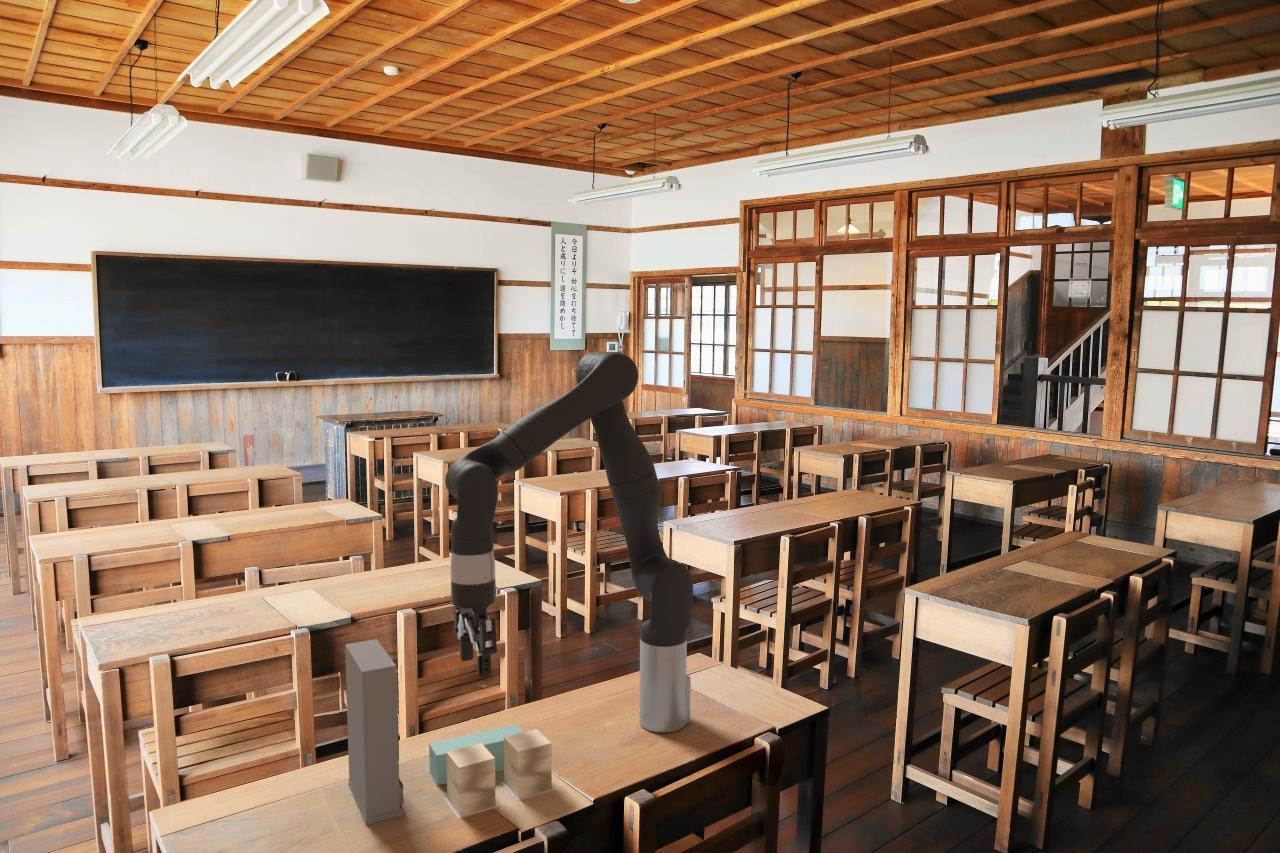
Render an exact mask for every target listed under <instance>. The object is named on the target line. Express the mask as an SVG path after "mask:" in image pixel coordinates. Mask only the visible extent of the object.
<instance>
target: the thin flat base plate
mask: <svg viewBox="0 0 1280 853" xmlns="http://www.w3.org/2000/svg"><path fill="white" fill-rule="evenodd" d="M500 783H501V785H502V786H503V787H504V788H505V789H506V791H508V793H509V794H510V795H511V796H512V797H513V799H514V800H515V801H516V802H520V801H522V800H525V799H530V798H532V797H536V796H539V795H542V794H546V793H549V792H552V791H556V790H557V789H556V788H555V787H554V786H553V785H552V789H549V790H546V791H543V792H539V793H536V794H533V795H529V796H526V797H523V798H519V799H518V797H517V796H516V795H515V794H514V793H513V792H512V791H511V789H510V788H509V787H508V786H507V785H506V784H505V780H503V781H500ZM443 800H444V801H445V803H446V805H447V806H448V807H449V808H450V810H451V811H452V813H453V815H454V816H455V818H457V820H459V819H462V818H467V817H469V816H472V815H476V814H479V813H482V812H486V811H490V810H493V809H496V808H499V807H500V804H498V802H497V801H496V806H492V807H489V808H486V809H482V810H479V811H476V812H472V813H469V814H466V815H462V816H459V814H458V813H457V812H456V810H455V809H454V807H453V806H452V805H451V803H450V802H449V800H448V799H447V796H446V797H443Z"/></svg>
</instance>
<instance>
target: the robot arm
mask: <svg viewBox="0 0 1280 853" xmlns="http://www.w3.org/2000/svg"><path fill="white" fill-rule="evenodd" d="M575 380H576V381H575V382H576V386H574V387H573V388H572V389H570V390H569V391H567V392H566V393H564V394H563V395H561V396H560V397H558V398H556V399H554V400H552V401H550V402H549V403H546V404H545V405H542V406H541V407H538V408H537V409H534V410H533V411H531V412H529V413H527V414H525V415H524V416H523V417H521V418H519V419H518V420H517V421H515V422H513V424H511V425H510V426H508V427H507V428H506V429H504V430H503V431H502V432H501V433H499V434H498V435H497V436H496V437H495V438H493V439H492V440H490V441H489V442H486V443H484V444H483V445H480V446H478V447H477V448H475V449H473V450H471V451H469V452H468V453H467V454H464V455H463V456H461V457H460V458H458V459H457V460H456V461H455V462H453V464H452V465H450V467H449V468H448V470H447V472H446V474H445V477H444V478H445V479H444V483H445V488H446V490H447V491H448V493H449V494H450V495H451V496H452V497H454V498H456V499H457V509H456V510H457V513H456V514H457V515H456V518H454V520H453V521H452V523H451V531H450V532H451V534H450V536H451V558H450V598H451V599H450V600H451V604H452V606H453V631H454V633H455V634H457V638H458V640H459V657H460V660H461V661H462V662H466V661H467V662H468V661H471V660H473V659H474V648H475V652H476V666H477V668H476V669H477V671H476V672H477V676H478V677H479V678H484V677H489V676H491V674H492V655H495V654H497V653H498V647H497V646H498V645H497V627H496V625H497V624H496V622H497V621H496V618H495V617H492V618H490V617H489V616H490V615H489V614H488V610H487V609H488V608H489V607H490V606H491V605H493V604H494V603H495V602H496V600H497V593H496V592H497V590H496V586H497V584H496V559H495V558H496V557H495V553H494V552H495V551H494V529H493V528H494V527H493V523H494V519H495V514H496V508H497V501H498V491H499V490H498V489H499V488H498V480H497V479H498V478H500V477H502V476H503V475H506V474H509V473H510V474H511V473H515V472H517V471H520V470H522V468H524V467H526V466H527V465H528V464H529V463H531V462H532V461H533V460H534V459H535V458H537V457H538V456H539V455H541V454H542V453H543V452H545V451H546V450H547V449H548V448H549V447H550V446H552V445H553V444H555V443H556V442H557V441H559V440H560V439H561V438H563V437H564V436H566V435H567V434H569V433H571V431H572V430H574V429H576V428H577V427H578V426H581V425H582V424H583V423H585V422H586V421H588V420H590V422H591V424H592V428H593V429H594V430H593V431H594V434H595V436H596V441H597V445H598V447H599V448H598V449H599V452H600V456H601V459H602V463H603V465H604V466H603V467H604V470H605V473H606V478H607V481H608V485H609V488H610V493H611V496H612V500H613V503H614V504H615V509H616V511H617V515H618V519H619V524H620V526H621V530H622V533H623V535H624V539H625V544H626V547H627V555H628V560H629V567H630V571H631V578H632V582H633V586H634V588H635V590H636V591H637V594H639V595H640V596H641V598H642V599H645V600H646V601H648V602H650V617H649V619H646V620H644V621H643V622H642V623H641V624H640V628H639V724H640V726H641V727H642V728H644V729H645V730H647V731H650V732H653V733H654V732H655V733H663V734H664V733H665V734H666V733H673V732H676V731H680V730H682V729H683V728H685V727H686V726H687V725H688V724H691V693H692V692H691V690H692V689H691V688H692V686H691V685H692V683H691V682H692V679H691V676H690V675H689V674H688V673H687V668H688V667H687V664H688V663H687V658H688V656H687V655H688V654H687V651H688V650H687V649H688V648H687V647H688V646H687V644H688V642H687V639H688V631H689V629H690V626H691V623H692V612H693V611H692V610H693V594H694V586H693V583H694V582H693V577H692V574H691V572H690V569H689V568H688V567H687V566H686V565H684V564H683V563H681V562H679V561H677V560H675V559H671V558H669V557H668V555H667V554H666V551H665V549H664V545H663V543H662V540H661V537H660V532H659V522H658V520H659V515H660V509H661V501H662V500H661V498H662V496H661V493H662V492H661V488H660V487H661V486H660V483H659V478H658V475H657V472H656V468H655V467H656V466H655V464H654V462H653V459H652V457H651V454H650V453H649V451H648V449H647V448H646V446H645V444H644V442H643V441H642V439H641V438H640V437H639V435H638V433H637V432H636V430H635V429H634V427H633V425H632V423H631V421H630V420H629V417H628V414H627V411H626V407H625V403H624V400H625V399H627V398H628V397H629V396H631V395H632V394H633V393H634V392H635V389H636V387H637V386H638V382H639V370H638V367H637V364H636V363H635V360H633V359H632V358H631V357H630V356H628V355H626V354H624V353H622V352H617V351H592V352H589V353H587V354H585V355H583V356H582V357H581V359H580V360H579V361H578V364H577V366H576V371H575Z"/></svg>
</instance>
